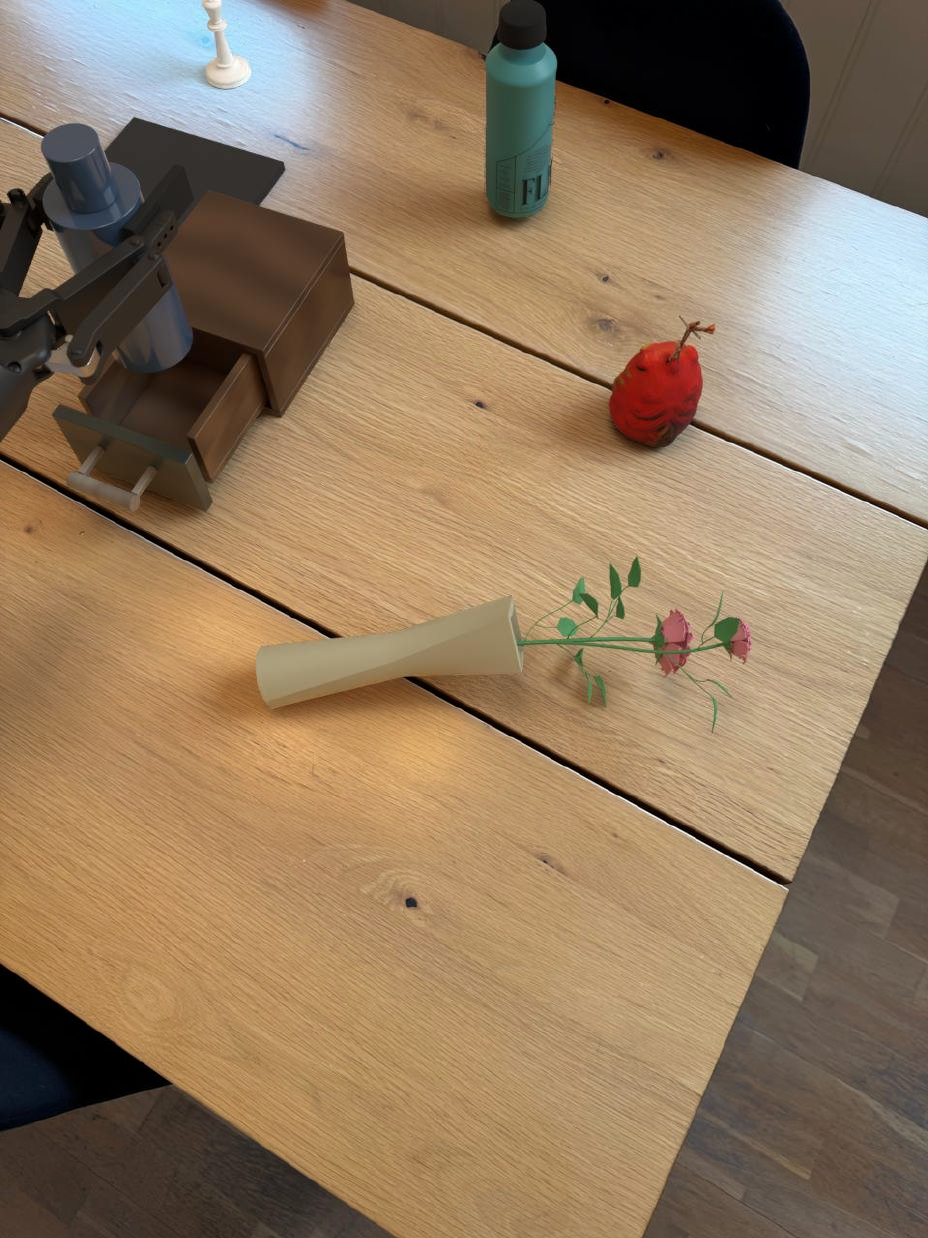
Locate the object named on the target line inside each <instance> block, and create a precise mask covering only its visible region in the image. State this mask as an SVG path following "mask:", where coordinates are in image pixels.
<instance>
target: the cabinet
mask: <svg viewBox="0 0 928 1238" xmlns="http://www.w3.org/2000/svg"><path fill="white" fill-rule="evenodd" d="M164 253H165V256H166V259H167V261H168V264H169V267H170V270H171V272H172V275H173V278H174V281H175V283H176V286H177V289H178V292H179V295H180V297H181V300H182V303H183V306H184V308H185V311H186V314H187V317H188V320H189V322H190V325H191V328H192V331H193V333H195V334H197V335H200V336H203V337H206V338H209V339H212V340H215V341H218V342H221V343H224V344H227V345H229V346H232V347H235V348H238V349H241V350H244V351H247V352H250V353H253V354H256V355H257V358H258V362H259V365H260V369H261V372H262V375H263V379H264V382H265V386H266V389H267V393H268V396H269V400H268V402H267V403H266V405H265V406H264V408H263V409H262V411H261V412H264V413H266V414H269V415H273V416H275V417H279V418H283V416H284V414H285V413H286V411H287V410H288V408H289V406H290V405H291V403H292V402H293V400H294V399H295V397H296V395H297V394H298V393H299V391H300V390H301V388H302V386H303V385H304V383H305V382H306V380H307V379H308V377H309V375H310V374H311V372H312V371H313V369H314V368H315V366H316V364H318V361H319V360H320V358H321V357H322V355H323V354H324V353H325V351H326V350H327V348H328V346H329V345H330V343H331V342H332V340H333V338H334V337H335V335H336V334H337V333H338V331H339V329H340V327H341V326H342V324H343V323H344V321H345V320H346V318H347V317H348V315H349V313H350V312H351V311H352V309H353V307H354V306H355V298H354V291H353V285H352V280H351V272H350V266H349V259H348V253H347V246H346V239H345V232H344V231H342V230H338V229H335V228H332V227H329V226H325V225H322V224H319V223H316V222H313V221H309V220H306V219H303V218H299V217H296V216H293V215H290V214H287V213H283V212H280V211H278V210H274V209H271V208H267V207H264V206H262V205H261V206H260V205H259V206H258V205H255V204H252V203H248V202H245V201H242V200H239V199H235V198H232V197H229V196H226V195H223V194H219V193H216V192H213V191H210V190H208V192H207V193H206V194H205V195H204V197H203V198H202V199H201V201H200V202H199V203H198V204H197V206H196V207H195V208H194V209H193V211H192V212H191V213H190V215H189V216H188V217H187V218H186V220H185V221H184V222H183V224H182V225H181V226H180V227H179V229H178V232H177V234H176V236H175V237H174V238H173V239H172V241H171V242H170V243H169V245H168V246H167V247H166V249H165V250H164Z"/></svg>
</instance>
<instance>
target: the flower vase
mask: <svg viewBox="0 0 928 1238" xmlns="http://www.w3.org/2000/svg"><path fill="white" fill-rule="evenodd" d="M641 581H642V568H641V564H640V560H639V557H638V555H636V557H635V558H634V559H633V560H632V563H631V567H630V570H629V573H628V574H627V585H626V586H625V587H624V588H623V585H622V581H621V578H620V574H619V573H618V571H617V570H616V568H615V567H614V566H613V564H612V562H609V587H610V598H611V599H612V600H611V601H610V605H609V609H608V613H607V616H606V619H605V620H604V622H603V623H602V625H601V626H600V627H599V628H598V629H597V630H596V631H595V632H594V633H593V634H592V635H591V636H590V637H573V636H576V634H577V633H578V631H579V629H580V628H579V627H580V626H582V625H583V624H587V623H588V622H590V621H592V620H594V619H597V620H599V605H600V604H599V602H598V600H597V598H596V597H594V596H593V595H591V594H590V593H586V584H585V583H586V582H585V576H582V577H580V578H579V580H578V581H577V584H576V585H575V587H574V588H573V591H572V597H571V600H570V601H569V602H567V603H566V604H565V605H563V606H560V608H557V609H556V610H554V611H552V612H550V613H548V614H546V615H544V616H543V617H541V618H539V620H537V621H536V622H535V623H534V624H532V626H531V627H530V629H529V630H528V631H527V633H526V635H525V637H524V639H523V636H522V632H521V628H520V623H519V618H518V614H517V609H516V604H515V600H514V596H513V594H509V595H507V596H504V597H500V598H497V599H493V600H491V601H488V602H484V603H481V604H478V605H474V606H471V607H468V608H465V609H462V610H459V611H456V612H452V613H449V614H446V615H443V616H440V617H436V618H433V619H429V620H426V621H424V622H421V623H418V624H414V625H411V626H408V627H404V628H401V629H398V630H395V631H389V632H382V633H381V632H380V633H371V634H360V635H354V636H353V635H352V636H344V637H343V636H342V637H334V638H325V639H316V640H315V639H314V640H306V641H295V642H286V643H278V644H276V643H275V644H267V645H260V646H259V649H258V651H257V653H256V655H255V676H256V681H257V687H258V690H259V692H260V695H261V697H262V700H263V702H264V704H266V705H267V707H268V708H270V709H271V710H273V709H277V708H281V707H285V706H289V705H292V704H298V703H301V702H305V701H309V700H313V699H316V698H317V699H318V698H321V697H325V696H329V695H334V694H338V693H342V692H346V691H350V690H353V689H354V690H355V689H358V688H361V687H362V688H363V687H366V686H370V685H374V684H378V683H383V682H386V681H391V680H394V679H398V678H404V677H425V676H427V677H428V676H429V677H430V676H473V675H476V676H478V675H479V676H480V675H519V674H522V671H523V664H524V657H525V649H526V647H525V646H537V645H557V646H559V647H560V648H561V649H563V650H565V652H567V653H568V654H569V655H571V657H573V658H574V661H576V664H577V665H578V666H579V669H580V671H581V672H582V673H583V674H584V676H585V677H586V680H587V706H589V704H590V702H591V698H592V696H593V695H592V694H593V693H592V692H593V684H592V681H591V678H593V680H594V681H595V683H596V685H597V687H598V688H599V690H600V692H601V696H602V698H603V699H602V700H603V702H604V705H605V708H607V707H608V705H607V703H608V702H607V691H606V687H605V682H604V680H603V678H602V676H601V675H600V674H598V675H594V676H593V675H592V674H590V673H589V672H588V671H587V670H586V669H585V668H584V663H583V654H584V649H585V648H584V647H594V648H595V647H596V648H605V649H614V650H615V649H616V650H621V651H630V652H637V653H645V654H653V655H654V658H655V659H656V660H655V665H654V666H657V665H658V664H659V665H660V667H661V669H660V670H661V672H664V674H665V675H663V676H662V679H664V678H667V676H668V675H669V674H670V673H671V672H672V671H673V672H672V674H673V675H675V674H676V673H677V672H678V671H679V669H680V670H681V671H682V672H683V673H684V674H685V675H686V676H687V677H688V678H689V679H690V680H691V681H692V682H693V683H694V684H695V685H697V686H698V687H699V688H700V689H701V690H702V691H704V692H705V693H706V694H708V695H709V696H710V698H711V700H712V703H713V708H714V709H713V720H712V727H711V734H712V735H713V733H714V730H715V726H716V722H717V714H718V702H717V699H716V698H715V697H714V696H713V695H712V694H711V693H709V692H708V691H707V690H705V688H703V687H702V686H701V685H700V684H698V683H697V682H699V683H706V682H711V683H713V684H715V685H717V686H718V687H719V688H720V689H721V690H723V692H725V694H726V695H728V696H729V697H730V698H732V695H731V694H730V692H729V691H728V690H727V688H725V687H724V686H723V685H722V684H721V683H720V682H718V681H716V680H714V679H710V678H707V679H706V680H705V679H704V680H699V679H696V678H694V677H693V676H691V675H690V674H689V673H687V671H686V670H684V669H683V667H684V666H685V665H686V664H687V663H688V660H687V658H689V657H690V656H691V654H693V653H696V652H698V653H699V652H702V651H708V650H712V649H717V648H720V647H723V648H724V649H725V651H726V653H727V654H728V655H729V658H730V659H729V661H730V662H732V660H733V659H732V658H733V656H735V657H738V659H739V660H740V659H742V660H743V662H742V663H741V664H742V665H744V664H746V663H748V656H749V653H750V652H751V650H752V645H753V642H752V641H751V639H752V634H751V632H750V631H751V627H750V625H748V624H746V623H745V622H744V621H743V619H742V618H741V617H740V615H738V616H735V617H732V616H728V617H726V618H723V619H721V620H719V621H718V619H719V616H720V613H721V608H722V606H723V596H724V591H722V592H721V595H720V601H719V605H718V608H717V611H716V615H715V616H714V617H715V618H714V619H713V621H712V622H711V623H710V624H709V625H708V626H707V627H706V628H705V629H704V631H703V632H702V634H701V644H699V646H697V647H696V648H692V647H691V646H689V644H691V642H692V641H693V640H694V634H693V632H690V630H691V629H692V624H691V623H690V622H688V621H687V619H686V617H685V614H684V612H681V611H680V610H679V609H678V608H677V607H675V608H674V610H675V611H674V610H673V609H670V610H669V615H668V617H666V618H665V619H664V620H663V621H662V619H661V618H660V616H659V615H658V614H657V613H655V617H656V622H657V624H656V628H655V632H654V635H652V637H636V636H635V637H633V636H595V635H597V633H598V632H600V630H601V629H602V628H603V627H604V626H605V625H606V623H608V622H609V621H610V620H611V619H612V618H613V617H615V618H618V619H621V620H624V618H625V616H626V612H625V605H624V603H623V600H622V597H621V595H622V594H623V592H624V591H625V590H626V589H627V588H636V589H638V588H639V586H640V584H641ZM614 601H615V602H614ZM572 602H574V603H575V604H576V605H579V606H581V605H582V604H583V603H584V604H585V605H586V606H587V608H588V609H590V611H591V612H592V613H593V615H594V616H593V617H592V618H590V619H588V620H586V621H584V622H582V623H580V624H578V625H577V624H576V622H575V621H574V619H572V618H569V617H567V616H566V617H564V616H563V617H560V618H559V621H558V623H557V625H556V626H543V625H539V624H538V623H539V622H541V620H543V619H545V618H546V617H549V616H550V615H552V614H554V613H556V612H558V611H559V610H562V609H563V608H565V607H567V606H568V605H569V604H571V603H572ZM613 602H614V604H613ZM612 604H613V607H612ZM614 608H615V615H612V612H613V611H614ZM535 626H537V627H540V628H543V629H545V628H546V629H548V628H549V629H550V628H551V629H553V628H555V629H557V630H558V631H559V633H560V634H561V636H562V637H563V638H554V639H551V638H550V639H535V640H534V639H533V640H526V639H527V638H528V635H529V634H530V632H531V630H532V629H533V628H534V627H535ZM713 626H714V628H713V629H714V630H713V636H712V637H710V638H708V639H706V640H705V641H704V640H703V639H704V638H703V637H704V634H705V633H706V631H707V630H708V629H709V628H711V627H713ZM564 637H565V638H564ZM571 637H572V638H571ZM712 639H717V640H718V641H720V642H719V643H715V644H712V645H706V646H703V645H704V644H706V643H707V642H709V641H711V640H712ZM599 642H600V643H599ZM601 642H602V643H601ZM603 642H606V643H603ZM607 642H636V643H637V642H642V643H649V644H651V645H652V647H653V648H652V649H646V648H638V647H631V646H625V645H624V646H623V645H617V644H616V645H615V644H607ZM562 645H564V646H565V645H567V646H584V647H581V648H580V649H579V650H578V651H577V652H576V654H575V655H573V654H572V653H571V652H570V651H569V650H568V649H566V648H565V647H563V646H562Z"/></svg>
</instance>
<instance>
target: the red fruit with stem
mask: <svg viewBox="0 0 928 1238" xmlns="http://www.w3.org/2000/svg"><path fill="white" fill-rule="evenodd" d="M678 317H679V319H680V320H681V321H682V323H683V324H684V326H685V327H686V329H685V331H684V334H683V336H682V338H681V339H676V340H671V341H670V340H669V341H668V340H667V341H661V342H652V343H646V344H645V345H643V346H642V347H641V348H640V349H639V352H636V354H634V355H633V356H632V358H631V359H630V360H628V362H627V363H626V365H625V367H624V369H623V370H622V371H621V372H619V374H618V375H617V376H615V378H614V379H613V382H612V384H611V395H610V397H609V400H608V409H609V414H610V417H611V420H612V422H613V424H614V426H615V427H616V429H617V430H618V431H620V433H621V434H622V435H624V436H625V437H627V438H628V439H630V440H632V441H635V442H636V443H640V444H643V445H644V444H645V445H648V446H649V447H651V448H654V449H657V448H658V449H659V448H665V447H669V446H670V445H672V444H673V443H674V441H675V440H676V438H677V437H678V436H679V435H680V434H681V433H683V432H684V431H685V430H686V429H687V427H689V426H690V424H691V422H692V421H693V419H694V417H695V416H696V414H697V410H698V404H699V402H700V399H701V396H702V393H703V386H704V380H703V373H702V367H701V364H700V362H699V358H700V357H699V352H698V351H697V349H696V347H695V346H692V345H691V344H689V345H686V344H685V343H686V341H688V338H689V337H690V335H691V333H692V334H693V335H694V336H695V337H696V338H697V339H699V340H701V336H700V334H698V332H702V333H706V334H709V335H714V334H715V332H716V328H715V327H716V324H715V323H713V324H710V325H708V326H700V325H701V321H700V320H697V321H692V322H689V323H688V322H686V320H685V319H684V317H682V315H681V314H679V316H678Z"/></svg>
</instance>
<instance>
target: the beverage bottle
mask: <svg viewBox="0 0 928 1238" xmlns="http://www.w3.org/2000/svg"><path fill="white" fill-rule="evenodd" d="M497 24H498V25H497V30H496V36H497V40H498V41H499V43H497V44H496V45H495V46H493V48H491V50H489V52H488V53H487V56H486V58H485V62H484V68H485V143H483V146H485V148H483V151H485V153H483V154H484V156H485V161H484V164H483V165H484V167H483V168H484V170H483V172H484V173H485V174H483V176H484V177H485V182H484V183H483V184H484V186H485V191H484V194H485V196H486V200H487V202H488V204H489V206H490V207H491V209H492V210H493V211H494V212H496V213H497V214H500V215H502V216H505V217H509V218H513V219H514V218H515V219H519V218H528V217H531V216H534V215H536V214H537V213H539V212H540V211H541V210H542V209H543V208H544V207H545V206H546V203H547V202H548V200H549V197H550V194H551V191H550V190H551V186H552V185H551V184H552V167H553V158H554V157H553V155H552V149H553V146H554V144H553V143H554V139H553V132H554V131H553V129H554V125H555V124H556V122H554V119H556V118H555V116H556V109H555V108H556V107H557V103H556V100H557V96H556V89H557V88H556V75H557V73H556V72H557V70H558V69H557V68H558V60H557V56H556V54H555V53H554V51H553V50H552V49H551V48H550V47H549V46H548V45H547V44H546V43H545V41H546V39H547V13H546V10H545V8H544V6H543V5H542V4H541V3H539V2H538V1H535V0H510V1H507V2H506V3H504V5H502V7H501V8H500V10H499V13H498V23H497Z"/></svg>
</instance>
